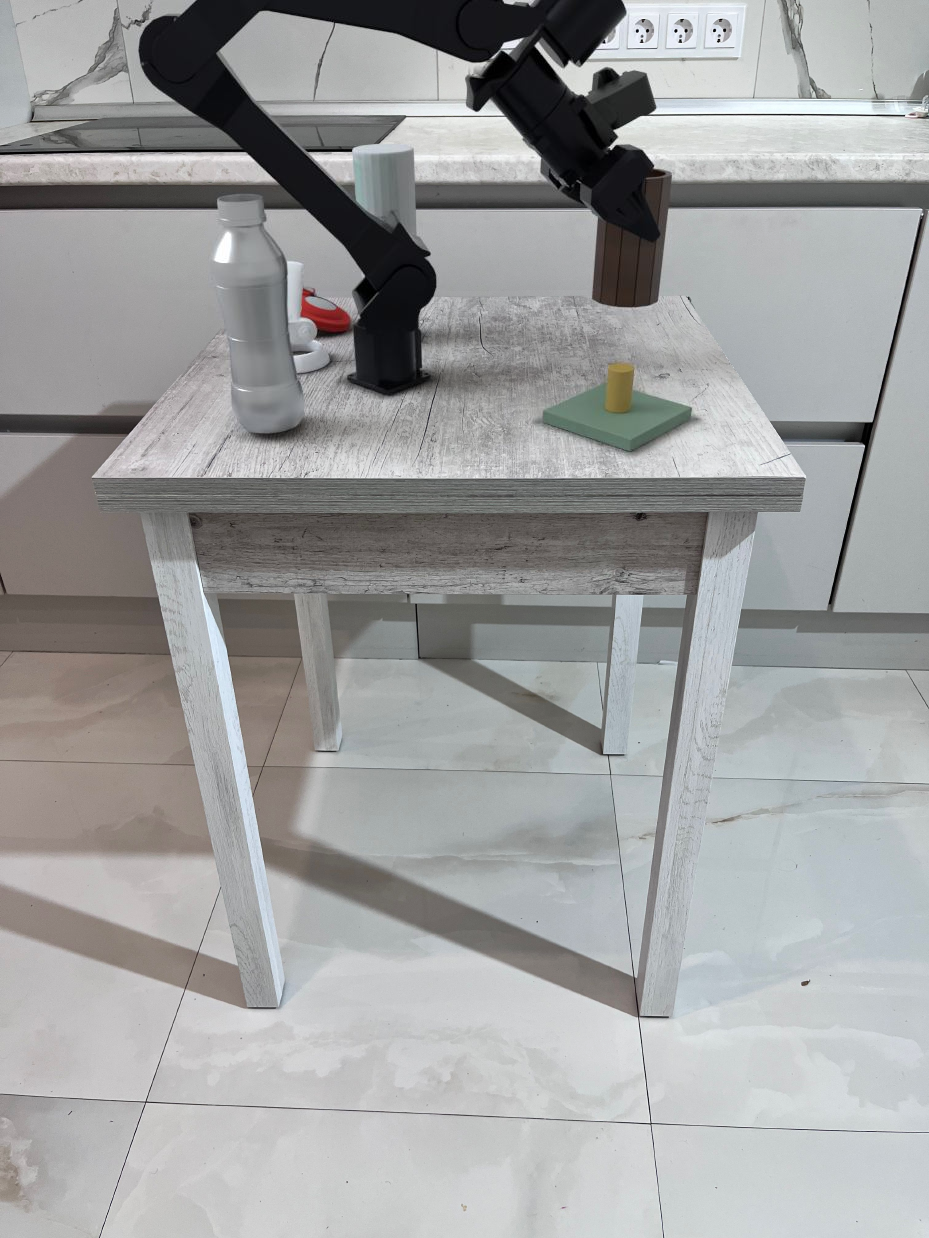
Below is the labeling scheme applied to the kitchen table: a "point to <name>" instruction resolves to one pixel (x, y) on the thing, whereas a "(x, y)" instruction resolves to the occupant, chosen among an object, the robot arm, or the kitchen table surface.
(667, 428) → the peg stand
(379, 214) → the spray can
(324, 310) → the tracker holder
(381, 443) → the kitchen table surface
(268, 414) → the plastic bottle
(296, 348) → the white upright ring-based piece
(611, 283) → the sleeve
